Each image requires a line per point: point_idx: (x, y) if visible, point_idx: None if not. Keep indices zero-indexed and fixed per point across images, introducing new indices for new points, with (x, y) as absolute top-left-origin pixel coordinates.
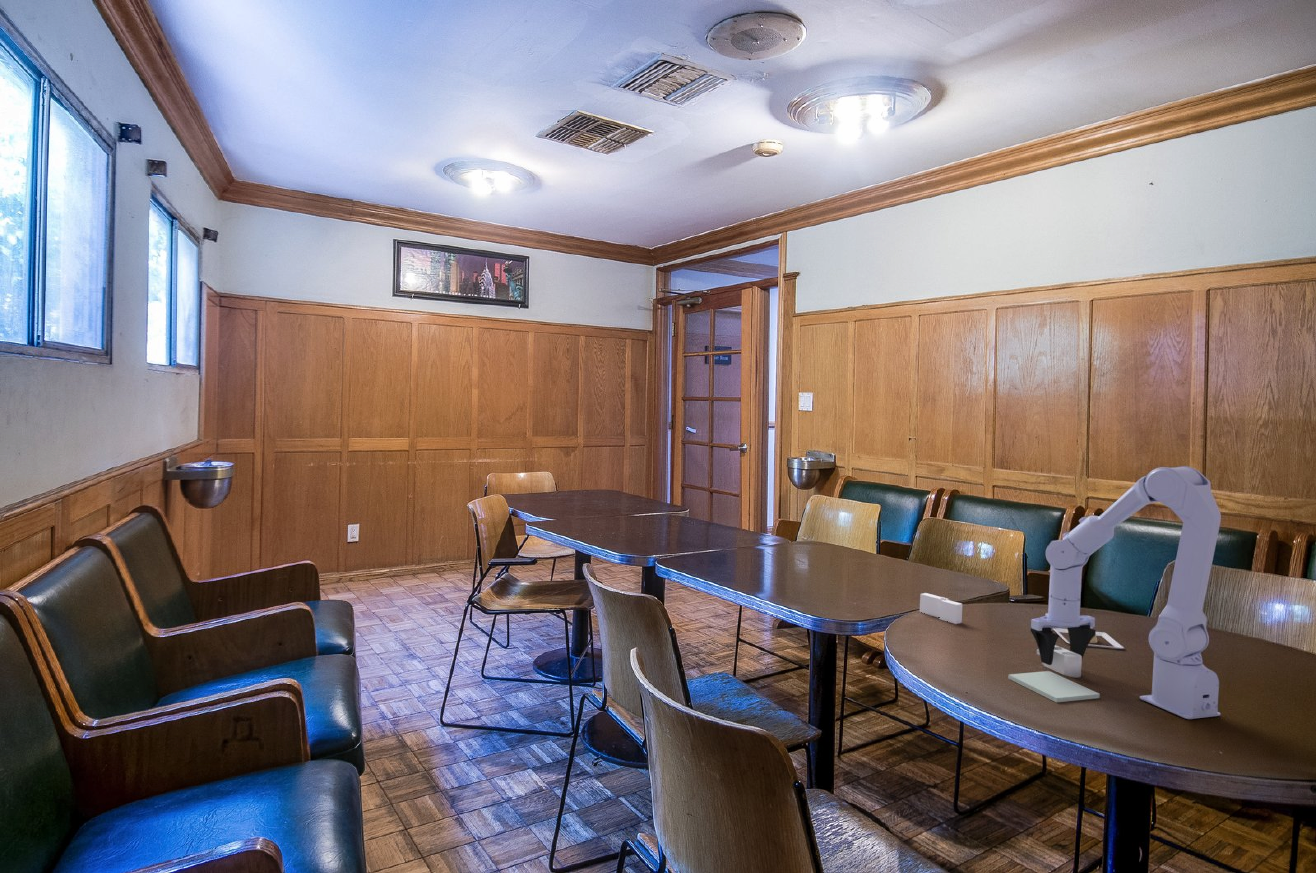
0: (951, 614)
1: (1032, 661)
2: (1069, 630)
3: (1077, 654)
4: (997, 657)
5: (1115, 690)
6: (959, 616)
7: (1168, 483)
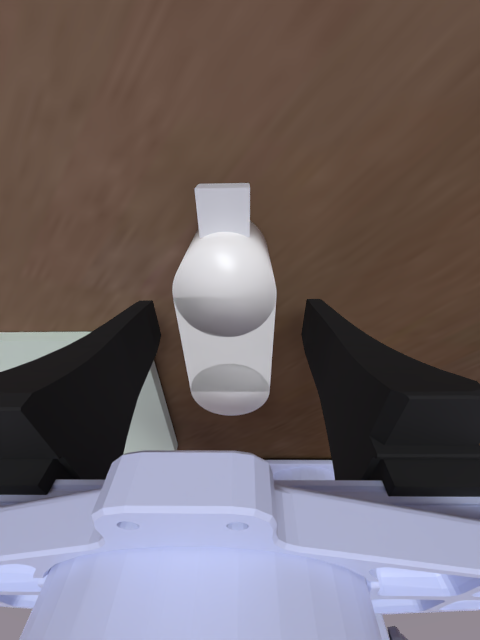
0: None
1: (173, 187)
2: (367, 385)
3: (263, 390)
4: None
5: (256, 427)
6: None
7: None
